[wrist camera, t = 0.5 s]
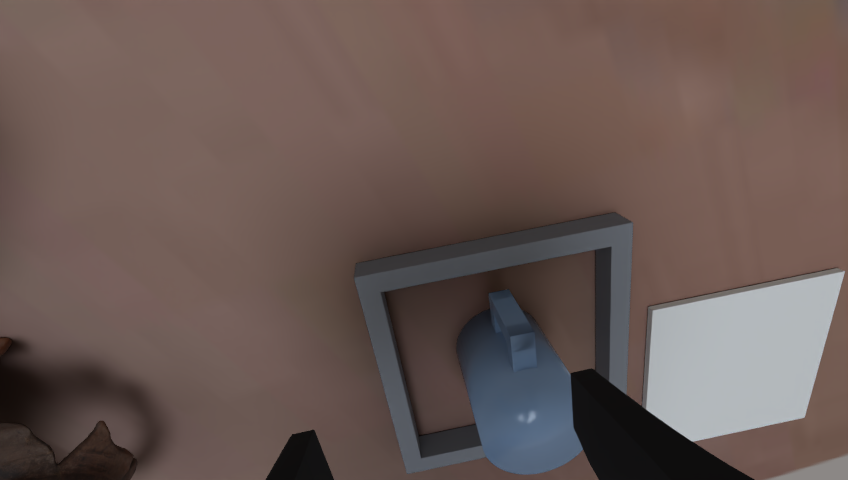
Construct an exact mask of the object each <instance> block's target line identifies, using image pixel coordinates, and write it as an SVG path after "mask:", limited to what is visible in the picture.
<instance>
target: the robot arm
mask: <svg viewBox="0 0 848 480" xmlns="http://www.w3.org/2000/svg"><path fill="white" fill-rule="evenodd" d="M571 392H572V411H573V428H574V430H575V432H576V434H577V437H578V439H579V441H580V443H581V446H582V448H583V450H584V452H585V454H586V456H587V458H588V461H589V463H590V465H591V467H592V468H593V470H594V472H595V473H596V475H597V477H598V479H599V480H754V479H752V478H751V477H749V476H747V475H745V474H744V473H742V472H740V471H739V470H737V469H735V468H733V467H732V466H730V465H728V464H727V463H725V462H723V461H722V460H720V459H719V458H717V457H715V456H714V455H712V454H711V453H709V452H707V451H706V450H704V449H703V448H701V447H700V446H698V445H697V444H695V443H694V442H692V441H691V440H689V439H687V438H686V437H685V436H683V435H682V434H680V433H679V432H677V431H676V430H674V429H673V428H671V427H670V426H669V425H667V424H666V423H664V422H663V421H662V420H660V419H659V418H657V417H656V416H654V415H653V414H652V413H650V412H649V411H647V410H646V409H645V408H643V407H642V406H641V405H639V404H638V403H637V402H635V401H634V400H633V399H631V398H630V397H629V396H627V395H626V394H625V393H623V392H622V391H621V390H620V389H618V388H617V387H616V386H614V385H613V384H612V383H611V382H609V381H608V380H607V379H605V378H604V377H603V376H601V375H600V374H599V373H598V372H596V371H595V370H593V369H587V370H583V371H578V372H574V373H571ZM266 480H334V479H333V476H332V474H331V471H330V468H329V466H328V463H327V461H326V458H325V456H324V453H323V451H322V448H321V446H320V443H319V441H318V438H317V436H316V433H315V430H311V431H306V432H302V433H297V434H292V436H291V437H290V438H289V440H288V442H287V444H286V445H285V447H284V449H283V450H282V452H281V454H280V456H279V457H278V459H277V461H276V463H275V464H274V466H273V468H272V470H271V471H270V473H269V475H268V476H267V478H266Z"/></svg>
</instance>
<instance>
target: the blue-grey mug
mask: <svg viewBox="0 0 848 480" xmlns="http://www.w3.org/2000/svg"><path fill="white" fill-rule="evenodd" d="M488 294H489V302H490V309H488V310H486V311H483V312H481V313H479V314H477V315H476V316H474V317H473V318H472V319H471V320H469V321H468V322H467V324H466V325H465V326H464V327H463V329H462V330H461V332H460V334H459V336H458V339H457V344H456V351H457V356H458V360H459V364H460V367H461V371H462V374H463V378H464V382H465V385H466V389H467V393H468V396H469V400H470V404H471V407H472V411H473V415H474V418H475V422H476V425H477V429H478V433H479V436H480V440H481V444H482V447H483V451H484V453H485V455H486V457H487V458H488V460H489V461H490V462H491V463H492V464H494V465H495V466H496V467H498V468H500V469H502V470H504V471H507V472H510V473H515V474H537V473H543V472H547V471H550V470H553V469H555V468H558V467H560V466H562V465H564V464H565V463H567V462H569V461H570V460H572V459H573V458H574V457H576V456H577V455H578V454H579V453H580V452H581V451H582V450H583V448H582V446H581V443H580V441H579V439H578V437H577V434H576V432H575V430H574V428H573V411H572V392H571V375H570V373H569V372H568V370H567V369H566V367H565V365H564V364H563V362H562V361H561V359H560V358H559V356H558V354H557V353H556V351H555V350H554V348H553V347H552V345H551V344H550V342H549V340H548V339H547V337H546V336H545V334H544V333H543V331H542V329H541V328H540V326H539V325H538V323H537V322H536V320H535V319H534V318H533V317H532V316H531V315H530V314H528V313H527V312H525V311H523V310H521V309H520V307H519V305H518V304H517V302H516V300H515V299H514V297H513V295H512V294H511V292H510V291H509V289H507V290H502V291H497V292H492V293H488Z"/></svg>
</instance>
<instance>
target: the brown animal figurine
mask: <svg viewBox="0 0 848 480" xmlns="http://www.w3.org/2000/svg"><path fill="white" fill-rule="evenodd" d="M11 343H12V341H11V339H10V338H6V337H4V338H0V356H1V355H3V354H4V353H5V352H6V351H7V349H8V348H9V346H10V345H11ZM136 465H137V460H136V459H135V458H133V455H132V454H131V453H130V452H129V451H128V450H126V449H125V448H121V447H119V446H117V445H115V444H114V443H113V441H112V439H111V437H110V432H109V429H108V427H107V426H106V424H105V422H104V421H99V422H98V423H97V424H96V427H95V428H94V430H93V431H92V432H91V433H90V434H89V436H88V437H87V438H86V439H85V440H84V441H83V442H82V443H80V444H79V445H78V446H77V447H76V448H75V449H74V450H73V451H72V452H71V453H69V455H68V456H67V457H66V458H64V459H63V460H62V461H61V462H60V463H59V464H56V461H55V455H54V452H53V450H52V448H51V447H50V446H49V445H47V444H46V443H45V442H43V441H42V440H40V439H38V438H37V437H35V436H34V435H33V433H32V432H31V430H30V429H29V428H28V427H27V426H25V425H22V424H16V423H0V480H130V479H131V477H132V476H133V474H134V472H135V469H136Z"/></svg>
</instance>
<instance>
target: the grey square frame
mask: <svg viewBox="0 0 848 480" xmlns="http://www.w3.org/2000/svg"><path fill="white" fill-rule="evenodd" d="M632 237H633V222H631V221H630V220H628V219H626V218H624V217H623V216H621V215H619V214H617V213H610V214H605V215H600V216H594V217H589V218H584V219H579V220H574V221H569V222H564V223H559V224H554V225H549V226H544V227H539V228H534V229H529V230H523V231H518V232H513V233H508V234H503V235H498V236H493V237H488V238H483V239H478V240H473V241H468V242H463V243H458V244H452V245H447V246H442V247H437V248H432V249H427V250H422V251H417V252H412V253H407V254H402V255H397V256H392V257H386V258H381V259H376V260H371V261H366V262H361V263H356V266H355V274H354V280H355V284H356V287H357V291H358V295H359V298H360V302H361V306H362V309H363V313H364V317H365V321H366V324H367V328H368V332H369V335H370V339H371V343H372V346H373V350H374V354H375V358H376V361H377V365H378V369H379V372H380V376H381V380H382V383H383V387H384V391H385V394H386V398H387V402H388V406H389V409H390V413H391V417H392V420H393V424H394V428H395V431H396V435H397V439H398V443H399V446H400V450H401V454H402V457H403V461H404V465H405V468H406V472H407V474H410V473H415V472H419V471H424V470H429V469H433V468H438V467H443V466H447V465H452V464H457V463H462V462H466V461H471V460H476V459H480V458H485V457H486V455H485V453H484V451H483V447H482V444H481V440H480V436H479V433H478V429H477V425H471V426H466V427H461V428H457V429H452V430H447V431H442V432H438V433H433V434H428V435H423V436H419V435H418V431H417V427H416V423H415V419H414V415H413V410H412V406H411V402H410V398H409V394H408V390H407V385H406V381H405V377H404V373H403V369H402V365H401V361H400V356H399V352H398V348H397V344H396V340H395V336H394V331H393V327H392V323H391V319H390V315H389V311H388V306H387V302H386V298H385V294H384V292H385V291H390V290H395V289H400V288H405V287H410V286H415V285H420V284H425V283H430V282H436V281H441V280H446V279H451V278H456V277H461V276H466V275H471V274H476V273H481V272H486V271H491V270H496V269H501V268H506V267H511V266H516V265H521V264H526V263H531V262H536V261H541V260H546V259H551V258H556V257H561V256H566V255H571V254H576V253H581V252H586V251H591V250H596V372H598V373H599V374H600V375H601V376H603V377H604V378H605V379H607V380H608V381H609V382H611V383H612V384H613V385H614V386H616V387H617V388H618V389H620V390H621V391H622V392H623V393H625V394H626V390H627V365H628V339H629V314H630V288H631V263H632Z"/></svg>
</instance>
